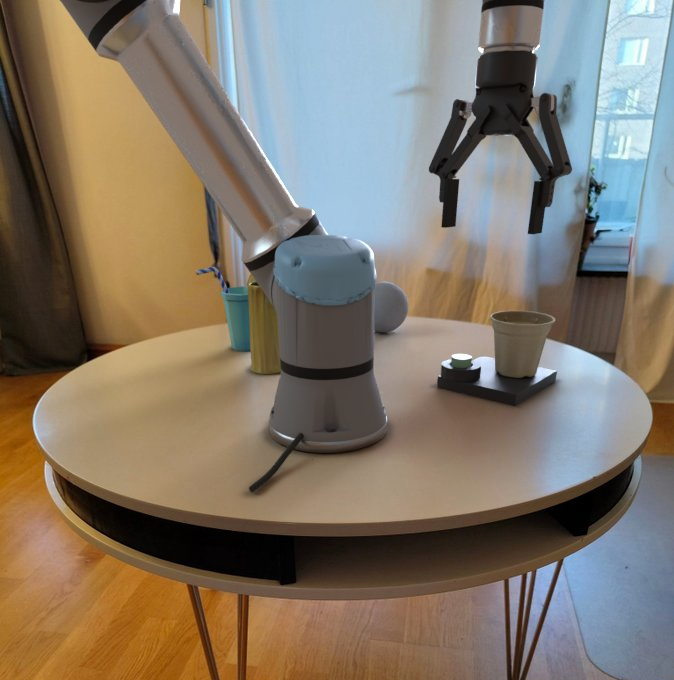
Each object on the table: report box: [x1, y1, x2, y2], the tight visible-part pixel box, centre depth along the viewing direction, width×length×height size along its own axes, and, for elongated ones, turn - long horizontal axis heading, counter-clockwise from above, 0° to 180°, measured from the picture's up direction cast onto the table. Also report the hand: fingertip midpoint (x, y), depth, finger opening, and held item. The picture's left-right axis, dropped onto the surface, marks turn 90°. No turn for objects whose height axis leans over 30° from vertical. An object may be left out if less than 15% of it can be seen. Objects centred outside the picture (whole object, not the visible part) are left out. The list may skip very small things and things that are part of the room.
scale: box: [436, 355, 558, 407], centre depth 95 cm, size 14×13×4 cm
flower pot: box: [489, 310, 556, 378], centre depth 93 cm, size 9×9×9 cm
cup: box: [195, 266, 256, 352], centre depth 113 cm, size 14×8×15 cm, turn 95°
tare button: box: [451, 353, 473, 368], centre depth 93 cm, size 3×3×2 cm
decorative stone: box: [374, 281, 409, 334], centre depth 123 cm, size 10×10×10 cm
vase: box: [248, 281, 281, 375], centre depth 101 cm, size 6×6×14 cm
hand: (489, 230), depth 87 cm, fingers open, 13 cm apart
